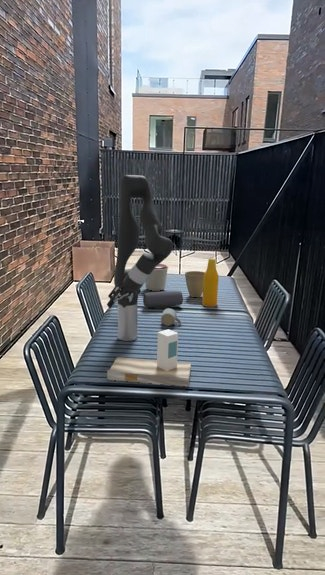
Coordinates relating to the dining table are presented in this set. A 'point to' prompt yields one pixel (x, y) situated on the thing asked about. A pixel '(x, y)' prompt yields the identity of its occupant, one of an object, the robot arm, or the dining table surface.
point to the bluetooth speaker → (162, 299)
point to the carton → (167, 349)
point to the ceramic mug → (170, 317)
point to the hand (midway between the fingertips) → (115, 306)
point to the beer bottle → (210, 284)
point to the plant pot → (194, 283)
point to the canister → (157, 278)
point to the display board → (148, 372)
